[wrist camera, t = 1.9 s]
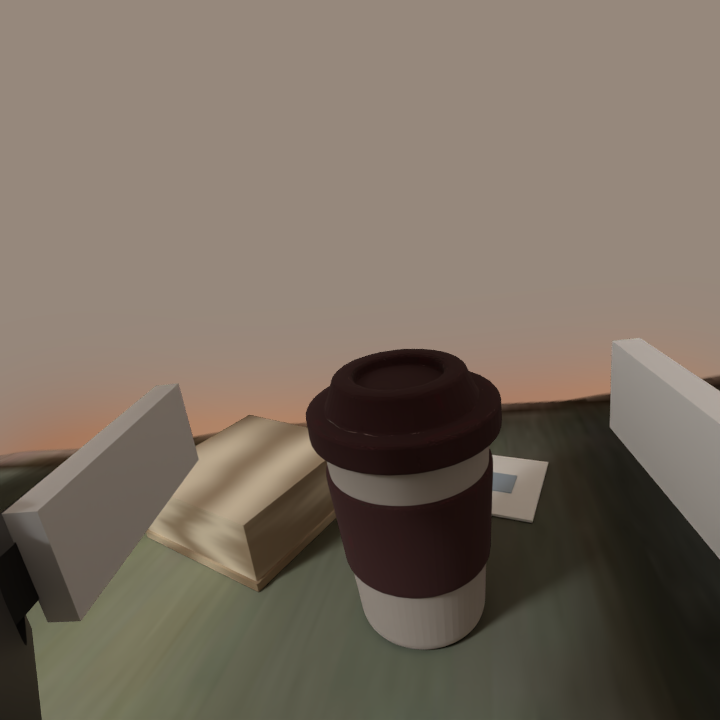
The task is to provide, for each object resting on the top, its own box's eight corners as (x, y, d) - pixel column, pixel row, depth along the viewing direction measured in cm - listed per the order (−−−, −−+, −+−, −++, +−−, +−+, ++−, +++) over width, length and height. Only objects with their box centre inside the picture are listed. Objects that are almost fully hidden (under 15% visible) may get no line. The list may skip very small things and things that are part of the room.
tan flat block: (147, 537, 40) (130, 482, 38) (259, 460, 49) (249, 413, 48) (258, 592, 33) (243, 528, 31) (364, 490, 42) (357, 436, 41)
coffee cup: (423, 526, 37) (402, 329, 32) (544, 600, 30) (542, 358, 25) (309, 602, 32) (264, 379, 27) (423, 718, 24) (389, 436, 19)
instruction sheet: (401, 499, 41) (400, 496, 40) (433, 449, 47) (433, 446, 47) (532, 523, 36) (532, 519, 36) (548, 464, 43) (548, 461, 42)
